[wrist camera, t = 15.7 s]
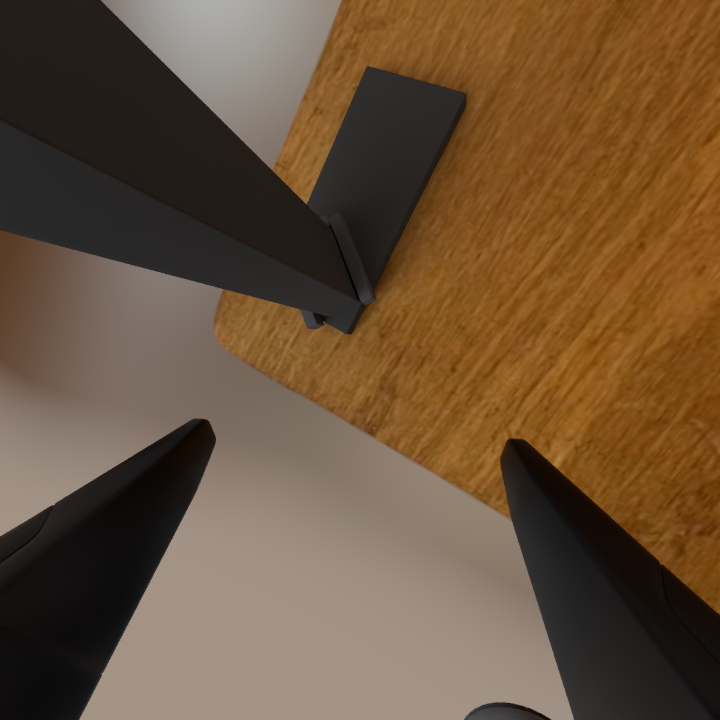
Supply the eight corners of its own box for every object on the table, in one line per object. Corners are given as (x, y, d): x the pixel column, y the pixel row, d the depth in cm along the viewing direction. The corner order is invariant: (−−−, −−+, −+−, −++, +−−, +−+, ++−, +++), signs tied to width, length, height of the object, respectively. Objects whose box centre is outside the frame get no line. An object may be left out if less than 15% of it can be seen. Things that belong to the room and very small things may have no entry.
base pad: (356, 350, 21) (345, 350, 19) (272, 302, 23) (254, 297, 21) (479, 110, 18) (482, 78, 16) (370, 78, 20) (361, 46, 18)
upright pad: (362, 303, 19) (-302, -36, 2) (330, 317, 20) (-353, 139, 3) (338, 235, 20) (-395, -494, 3) (307, 251, 21) (-419, -236, 3)
